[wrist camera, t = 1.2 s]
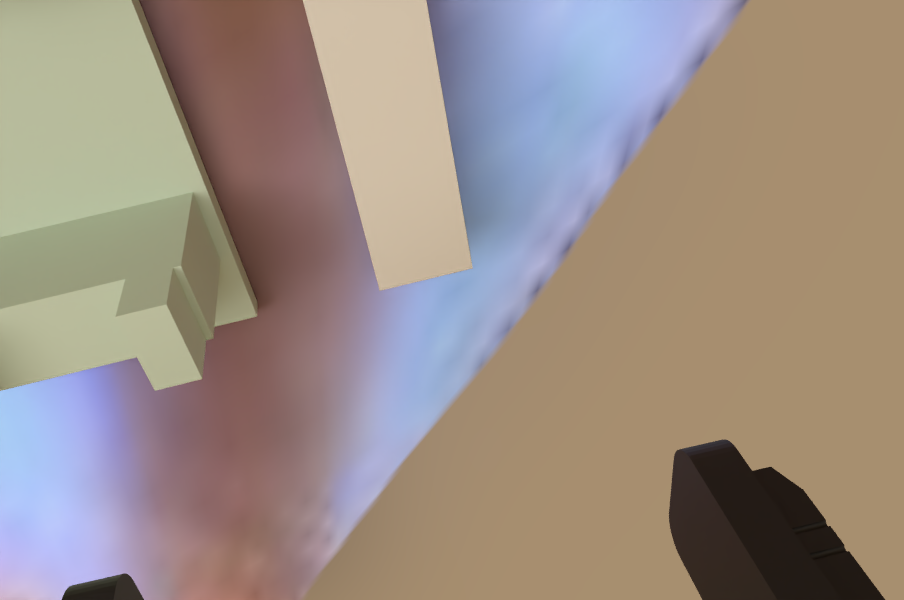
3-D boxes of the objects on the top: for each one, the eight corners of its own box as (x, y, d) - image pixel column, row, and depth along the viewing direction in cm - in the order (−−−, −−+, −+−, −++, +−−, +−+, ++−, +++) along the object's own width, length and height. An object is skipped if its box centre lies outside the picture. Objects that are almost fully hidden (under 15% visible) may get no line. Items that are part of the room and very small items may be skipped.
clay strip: (222, -322, 22) (214, -333, 18) (347, -346, 22) (363, -362, 18) (367, 229, 32) (379, 290, 29) (449, 209, 33) (472, 268, 29)
